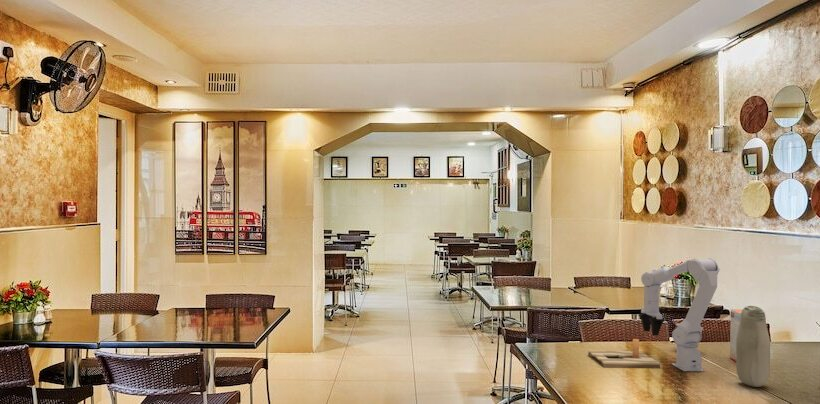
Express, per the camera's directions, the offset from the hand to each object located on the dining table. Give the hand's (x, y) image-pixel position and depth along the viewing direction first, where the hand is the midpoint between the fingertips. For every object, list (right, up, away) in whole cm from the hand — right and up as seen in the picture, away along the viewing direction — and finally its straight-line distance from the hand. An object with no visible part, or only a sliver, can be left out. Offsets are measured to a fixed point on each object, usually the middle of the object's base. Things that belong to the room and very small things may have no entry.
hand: (651, 333), depth 233 cm
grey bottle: (+20, -10, -38) cm, 44 cm away
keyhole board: (-15, -10, -9) cm, 20 cm away
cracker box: (+35, -11, -7) cm, 37 cm away
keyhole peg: (-10, -10, -8) cm, 16 cm away
